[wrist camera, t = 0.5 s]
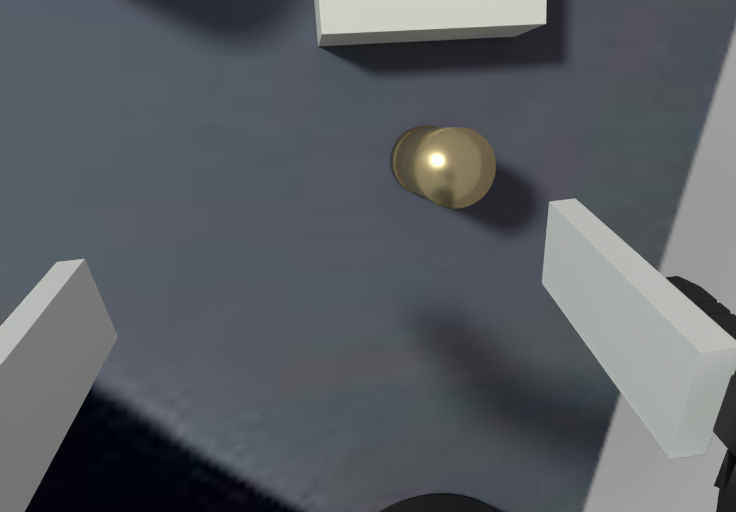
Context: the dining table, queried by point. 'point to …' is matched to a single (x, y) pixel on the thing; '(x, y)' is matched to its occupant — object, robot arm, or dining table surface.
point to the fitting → (444, 165)
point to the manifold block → (423, 20)
